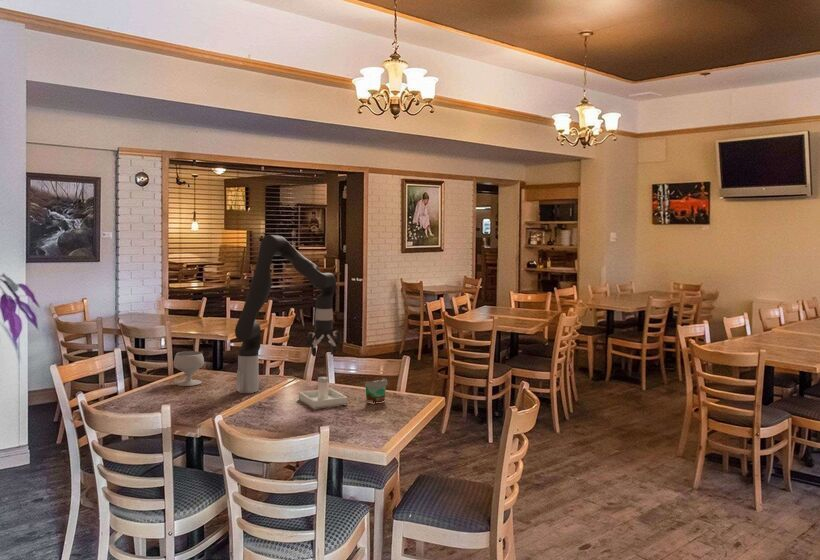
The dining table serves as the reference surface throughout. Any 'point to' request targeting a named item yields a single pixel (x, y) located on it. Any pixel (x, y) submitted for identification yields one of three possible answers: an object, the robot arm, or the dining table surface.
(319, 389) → the salt shaker
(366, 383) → the food container
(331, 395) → the tray
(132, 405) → the dining table surface
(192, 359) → the chalice
